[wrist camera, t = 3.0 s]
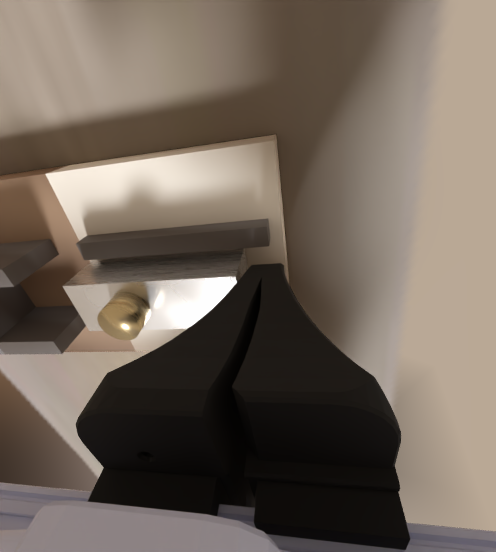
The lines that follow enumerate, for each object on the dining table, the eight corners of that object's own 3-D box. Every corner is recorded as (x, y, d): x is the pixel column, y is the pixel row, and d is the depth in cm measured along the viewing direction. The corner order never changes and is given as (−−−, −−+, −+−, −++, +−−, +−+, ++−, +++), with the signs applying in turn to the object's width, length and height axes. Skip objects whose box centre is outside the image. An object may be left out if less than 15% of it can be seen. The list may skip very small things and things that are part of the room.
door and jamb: (293, 329, 16) (293, 395, 13) (63, 334, 19) (13, 388, 15) (276, 134, 11) (268, 156, 7) (-40, 181, 14) (-150, 213, 10)
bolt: (252, 294, 13) (242, 346, 10) (115, 300, 14) (75, 348, 12) (244, 246, 12) (230, 293, 9) (94, 258, 13) (44, 302, 10)
